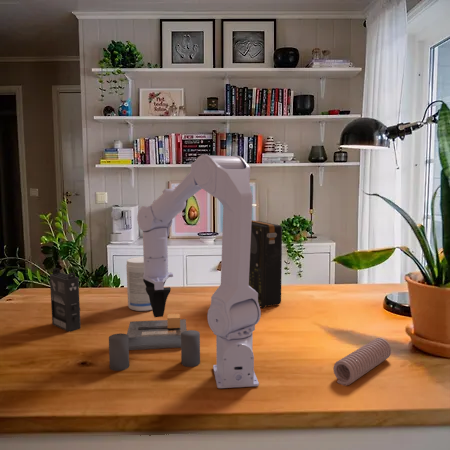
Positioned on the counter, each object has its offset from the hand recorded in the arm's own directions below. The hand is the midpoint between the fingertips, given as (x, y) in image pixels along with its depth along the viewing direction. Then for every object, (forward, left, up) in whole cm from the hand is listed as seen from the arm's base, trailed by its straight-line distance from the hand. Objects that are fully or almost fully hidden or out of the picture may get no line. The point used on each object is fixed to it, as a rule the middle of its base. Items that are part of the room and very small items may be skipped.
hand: (157, 311), depth 107 cm
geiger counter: (+13, +24, -7) cm, 28 cm away
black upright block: (+29, -31, -7) cm, 43 cm away
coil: (-22, -43, -8) cm, 49 cm away
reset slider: (0, -4, -4) cm, 6 cm away
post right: (-14, -8, -7) cm, 17 cm away
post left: (-14, +7, -7) cm, 17 cm away
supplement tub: (+27, +5, -7) cm, 28 cm away
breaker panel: (0, 0, -7) cm, 7 cm away
